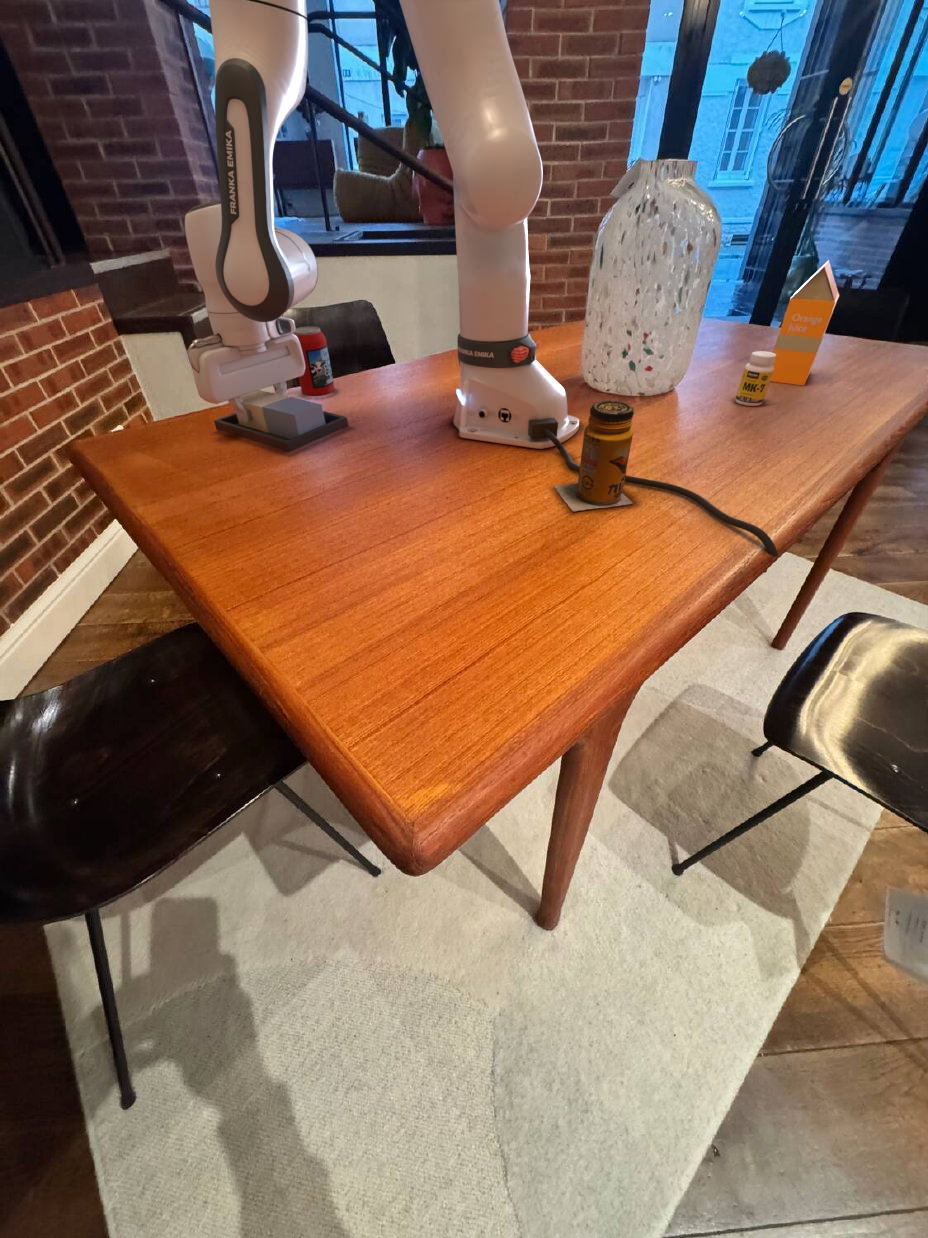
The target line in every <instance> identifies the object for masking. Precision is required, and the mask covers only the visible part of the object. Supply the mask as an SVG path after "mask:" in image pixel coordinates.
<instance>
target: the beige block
mask: <svg viewBox="0 0 928 1238" xmlns="http://www.w3.org/2000/svg"><path fill="white" fill-rule="evenodd" d="M275 393H276V392H275ZM275 393H274V392H270V391H266V390H263V389H260V390H257V391H254V392H251V393H248V394H245V395H242V396H241V397H242V400H243V402H242V403H240V404H241V405H242V406H243V407H244V408H245V409H247V410H251V413H252V416H253V420H251V421H249V422H246V423H245V422H242V421H241V420H240V417H239V414H238V411H237V410H236V409H235V408H234V411H235V412H234V413H236V415H237V418H238V422H239V424H240V425H244V426H247V427H250V428H254V429H257V430H260V431H264V432H267V433H268V432H270V431H269V428H268V424H267V420H266V417H265V413H264V409H263V407H264V406H266V405H269V404H272V403H275V402H277V401H280V400H283V399H286V398H288V397H289V396H286V395H285V396H283V395H279V394H275Z"/></svg>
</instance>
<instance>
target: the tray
mask: <svg viewBox="0 0 928 1238" xmlns="http://www.w3.org/2000/svg"><path fill="white" fill-rule="evenodd" d="M323 414H324V419H325V425H323V426H320V427H318V428H316V429H313V430H311V431H309V432H306V433H304V434H302V435H299V436H297V437H294V438H292V439H289V438H285V437H282V436H279V435H275V434H272V433H270V432H268V433H267V432H264V431H260V430H257V429H254V428H250V427H247V426H244V425H240V424H239V422H238V418H237V415H236V412H234V413H231V414H228V415H225V416H223V417H220V418H217V419H214V420H213V423H214V427H215V429H216V430H218V431H221V432H223V433H227V434H230V435H233V436H236V437H240V438H243V439H246V440H249V441H252V442H255V443H259V444H262V445H265V446H268V447H271V448H274V449H278V450H280V451H284V452H286V453H291V452H293V451H296V450H298V449H300V448H302V447H305V446H306V445H309V444H311V443H313V442H316V441H318V440H320V439H322V438H325V437H327V436H329V435H331V434H333V433H336V432H338V431H340V430H343V429H344V428H347V427H349V422H348V417H347V416H343V415H340V414H335V413H332V412H328V411H324V410H323Z"/></svg>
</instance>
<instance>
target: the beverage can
mask: <svg viewBox="0 0 928 1238" xmlns="http://www.w3.org/2000/svg"><path fill="white" fill-rule="evenodd" d="M293 334H295V335H296V336H297V338H298V339H299V342H300V345H301V348H302V352H303V356H304V361H305V372H304V375H302V376H299V377H298V381H299V385H300V390H301V393H302V394H303V395H306V396H311V397H317V396H319V397H320V396H325V395H328V394H330V393H333V392H334V390H335V384H334V378H333V372H332V366H331V361H330V354H329V350H328V344H327V339H326V336H325V334H324V333H323V332H322V331H321V328H320V327H319V326H301V327H295V332H294V333H293Z"/></svg>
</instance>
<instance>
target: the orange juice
mask: <svg viewBox="0 0 928 1238" xmlns="http://www.w3.org/2000/svg"><path fill="white" fill-rule="evenodd" d="M839 297H840V293H839V290H838V287H837V283H836V281H835V277H834V274H833V270H832V267H831V263H830V259H827V261H826V262H825V263H824V264H823V265H822V266H821V267H819V269H818V270H817V271H816V272H815V273H814V274H813V275H811V276H810V278H808V280H806V281H805V282H804V283H803V284H802V285H801V286H800V287H799V288H798V289H797V290H796V291H795V292H794V293H793V295H791V297H790V298H789V302H788V305H787V308H786V311H785V313H784V315H783V320H782V323H781V326H780V329H779V333H778V335H777V338H776V341H775V344H774V347H773V350H772V353H774V354H776V358H775V362H774V364H772V366H773V367H774V371H773V374H772V377H771V379H770V382H772V383H773V382H774V383H782V384H789V385H796V386H797V385H798V386H805V385H806V382H807V380H808V378H809V375H810V373H811V371H812V368H813V365H814V362H815V360H816V357H817V354H818V352H819V350H820V346H821V345H822V342H823V340H824V337H825V334H826V331H827V328H828V326H829V324H830V320H831V318H832V315H833V314H834V310H835V307H836V305H837V301H838V300H839Z"/></svg>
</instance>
